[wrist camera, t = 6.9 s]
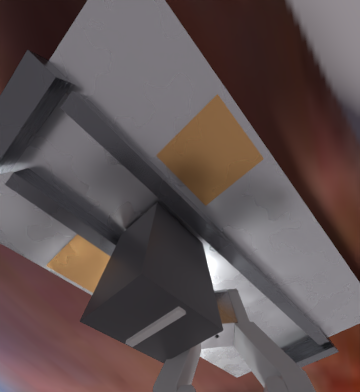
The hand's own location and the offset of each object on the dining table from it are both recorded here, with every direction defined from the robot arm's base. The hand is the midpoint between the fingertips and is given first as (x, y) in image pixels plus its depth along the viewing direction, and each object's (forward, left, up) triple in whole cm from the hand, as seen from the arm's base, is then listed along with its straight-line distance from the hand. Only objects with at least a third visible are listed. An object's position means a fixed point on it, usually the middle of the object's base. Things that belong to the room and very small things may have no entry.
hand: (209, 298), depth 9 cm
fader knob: (-2, +3, -2) cm, 4 cm away
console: (0, -1, -4) cm, 4 cm away
